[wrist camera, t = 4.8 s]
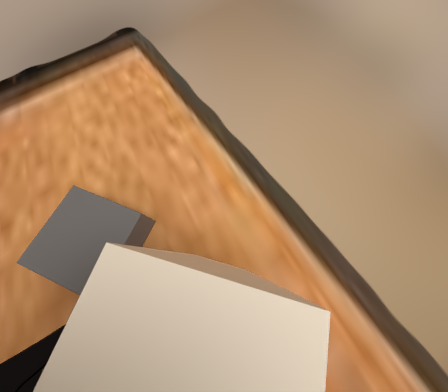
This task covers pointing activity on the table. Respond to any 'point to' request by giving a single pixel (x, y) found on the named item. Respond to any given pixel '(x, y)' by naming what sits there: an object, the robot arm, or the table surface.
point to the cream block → (186, 330)
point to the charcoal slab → (82, 237)
